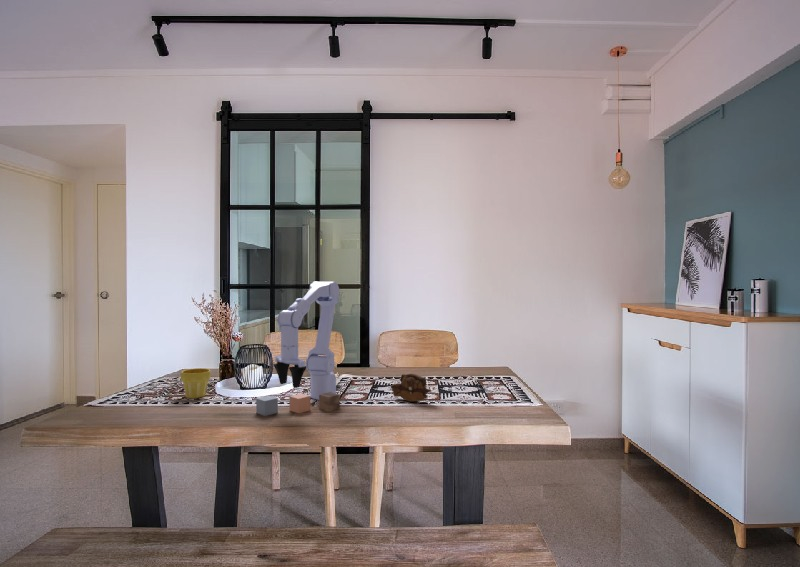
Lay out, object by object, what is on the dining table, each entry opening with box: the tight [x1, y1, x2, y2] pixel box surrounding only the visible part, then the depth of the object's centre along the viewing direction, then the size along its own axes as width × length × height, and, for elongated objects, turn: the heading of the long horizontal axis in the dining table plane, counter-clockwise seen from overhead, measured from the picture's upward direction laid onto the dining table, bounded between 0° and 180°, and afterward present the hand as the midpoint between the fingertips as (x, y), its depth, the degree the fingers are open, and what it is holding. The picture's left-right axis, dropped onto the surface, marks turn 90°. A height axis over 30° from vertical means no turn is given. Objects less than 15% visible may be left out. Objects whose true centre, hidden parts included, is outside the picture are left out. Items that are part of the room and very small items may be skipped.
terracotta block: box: [289, 393, 311, 414], centre depth 156 cm, size 5×5×5 cm
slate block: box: [255, 395, 279, 417], centre depth 153 cm, size 5×5×5 cm
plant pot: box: [180, 367, 211, 399], centre depth 174 cm, size 10×10×10 cm
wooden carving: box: [390, 373, 432, 402], centre depth 168 cm, size 16×5×10 cm, turn 62°
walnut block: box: [318, 392, 341, 413], centre depth 158 cm, size 5×5×5 cm
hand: (289, 385), depth 155 cm, fingers open, 7 cm apart
